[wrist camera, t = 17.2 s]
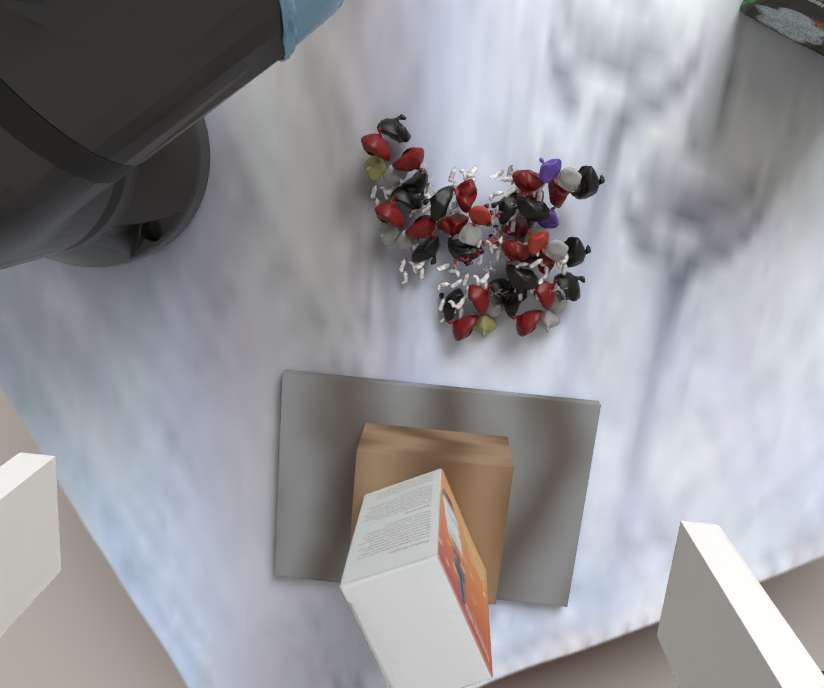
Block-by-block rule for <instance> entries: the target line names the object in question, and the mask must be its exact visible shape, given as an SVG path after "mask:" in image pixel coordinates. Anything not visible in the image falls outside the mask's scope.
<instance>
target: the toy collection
mask: <svg viewBox="0 0 824 688" xmlns="http://www.w3.org/2000/svg"><path fill="white" fill-rule="evenodd" d="M399 119H400V120H406V117H405V116H404V115H402V114H401V115H400V116H398V117H397V118H394V119H389V118H387V119H384V120H382V121H381V122H380V123H379V124H378V126H377V130H378V132H379V134H369V135H366V136H363V137H362V138H361V142H362V145H363V149H364V150H365V151H366V152H367V153H368V154H369V155H372V156H371V157H370V158H369V159H368V160H367V161H366V163H365V164H364V168H365V169H366V171H367V173H368V176H369V178H370V179H371V180H373V181H376V180H378V179H379V178H380V177H381V176H382V175H383V178H384V181H385V182H386V183H389V184H392V187H391V188H389V189H388V190H387V189H386V188H385V187H384V186H382V187H380V189H381V190H383V191H384V197H385V198H386V200H388V197H389V195H390V197H391V203H383V204H380V205H379V200H378V198H375V195H376V191H377V185H376V184H375V186H374V187H373V190H372V193H371V196H370V197H371V198H372V199H374V198H375V199H376V200H375V203H376V207H375V211H376V214H377V217H378V219H379V220H380V221H382V222H383V224H382V225H381V226H380V227H379V229H378V230H377V233H378V235H379V236H380V238H381V241H382V243H383V244H384V245H385V246H390V245H391V244H392V243H394V241H395V240H396V244H397V246H398V247H399V248H402V249H405V250H411V249H412V248H413V250H412V251H414V253H413V255H412V260H413V261H409V262H408V263H410V264H411V265H412V267H413V272H414V273H415V274H417V270H419V269H420V271H419V272H420V274H419V277H420V280H424V277H423V276H424V267H423V265H424V264H425V262H426V261H425V260H427V259H429V258H431V257H433V259H432V261H431V265H433V264H435V263H436V253H437V251H438V249H439V245H440V240H439V237H438V236H437V235H435V233H434V232H435V231H436V229H437V228H438V229H439V230H441V231H443V232H446V233H449V234H450V235H451V237H449V238H448V242H447V244H448V250H449V252H450V254H451V255H452V257H453V258H454V259H455V260H453V261H454V262H455V263H454V269H450V270H449V271H448V272H449V273H456V275H457V277H459V276H460V273H459V271H458V270H457V269H458V268H459V262H460V261H461V262H463V263H464V264H465V266H468V265H470V264H471V265H472V264H473V262H472V261H471V260H473V259H475V258H477V257H478V256H479V260H478V261H477V263H476V264H477V265H479V264H481V263H482V260H483V253H484V250H482V247H481V243H482V244H483V246H486V244H485V242H486V243H487V244H488V245H489V250H490V252H491V254H493V251H494V249H497V248H498V249H497V250H496V255H495V257H496V261H497V260H500V254H501V250H503V252H504V254H505V255H506V256H507V257H508V258H509V259H510V261H507V262H506V274H507V278H508V280H509V281H508V280H507V279H506V278H497V279H494V280H492V281H490V282H489V285H488V284H487V280H488V278H489V277H490V275H489V274H490V273H489V272H487V273H486V274H485V276H484V277H482V278H481V279H479V277H478V276H477V275H473V276H472V277H473V278H474V279H475V280H476V285H470V286H469V285H467V287H466V292H467V293H466V295H465V296H464V295H463V292H462V290H461V289H456V290H454V291H453V292H451V293H450V294H449V295H448V296H447V297H446V298H443V297H444V293H443V292H442V293H440V294H439V297H440V298H441V302H440V305H439V308H438V310H439V311H442V315H443V318H442V319H441V321H440V322H441V323H443V322H445V320H446V321H447V322H448V323H449V324H451V323H453V335H454V338H455V340H457V341H460V340H462V339H464V338H466V337H468V336H469V335H470V334H471V332H472V330H473V327H475V328H476V329H477V330H478V331H479V332H480V333H482V335H483V337H485V332H490V331H492V330H494V329H495V328H496V326H497V325H496V323H495V321H494V320H493V319H492V318H495V317H498V316H499V315H500V313H501V311H502V308H503V305H504V307H505V311H506V313H507V314H508V316H509V317H511V318H512V319H515V318H517V323H516V328H517V332H518V335H519V336H521V337H523V336H525V335H527V334H529V333H531V332H532V331H533V330H534V329H535V327H536V325H537V323H538V324H539V325H540V326H541V327H542V328H544V329H546V328H547V329H546V331H547V333H548V332H549V330H550V329H549V328H551V327H555V326H556V325H558V324H559V323H560V319H559V317H558V316H557V315H556V314H555V313H560V312H562V311H563V310H564V308H565V306H566V303H567V300H571V301H577V300H578V299H579V298H580V287H579V283H578V280H580V281H582V282H583V283H584V282H585V278H584V277H583V276H579V277H577V276H574V275H572V274H571V273H569V272H566V271H567V267H574V266H577V265H579V264H581V263H582V262H583V261H584V258H585V255H586V254H588V253H590V252H591V249H590V247H589V245H587V247H586V249H584V246H583V244H582V242H581V241H580V239H579V238H577V237H569V238H568V239H567V240H566V241H565V242H562V241H561V240H559V239H553V240H551V241H549V242H548V239H549V232H548V230H547V229H545V228H556V227H557V226H558V225H559V221H558V218H557V216H556V213H555V211H554V209H555V207H556V208H560V207H561V206H562V204H563V203H564V201H565V199H566V197H567V195H568V194H569V193H571V194H572V196H574V197H575V198H577V199H586V198H588V197H590V196H593V195H594V194H595V193H597V190H598V188H599V185H600V184H602V183H604V181H605V180H604V177H603V176H602V175H601V176H600V179H599V180H598V176H597V174H596V172H595V170H594V169H593V167H592V166H582V167H581V168H580V170H579V171H576V170H575V169H573V168H571V167H568V168H564V169H563V170H561V172H560V169H561V160H560V159H551V160H549V161H547V162H544V160H543V159H542V158H540V162H541V163H542V166H541V168H540V173H539V174H538V173H535V172H532V171H531V170H517V171H515V172H513V169H514V167H513V165H510V166H509V167H508V171H507V177H504V178H503V179H501V181H504V182H506V181H509V182H510V183H511V185H512V184H513V183H515V185H516V186H517V187H518V188H517V187H513V188H511V189H510V190H509V191H507V192H506V193H504V197H503V198H502V199H501V200H500V201H498V202H494V203H492V204H491V207H492V208H495V207H496V206H497V205H498V204H499V211H498V214H499V215H498V214H497V213H496V211H497V210H496V209H495V210H494V211H492V210H490V213H489V211H488V209H487V208H489V204H485V205H484V206H475V207H473V208H471V206H472V204H473V202H474V201H475V199H476V196H477V188H476V186H475V176H474V174H475V173H476V171H477V166H476V165H475V166H474V167H473V168H472V170H471V171H469V172H468V173H466V171H465V170H463V169H460V170H459V172H461V173H462V174H463V178H464V182H462V183H461V184H460V185H458V186H457V183H456V181H453V179H454V175H455V172H456V170H455V169H456V167H454V168H453V169H452V170H451V174H450V176H449V179H448V181H450V182H454V183H453V186H447V187H444V188H442V189H440V190H439V191H438V192H437V193H436V194H435V193H434V192H433V191H432V190H431V185H432V184H431V183H427V182H428V181H429V180H428V176H429V175H428V174H427V171H426V170H425V169H424V168H420V167H421V164H422V163H423V158H424V150H423V148H415V147H412V148H409V149H407V150H405V151H404V152H403V154H402V156H401V157H400V158H399V159H398V160H396V161H395V162H394V163H393V164H392V165H390V166H389V167H388V169H387V170H386V165H385V163H384V161H383V160H385V161H390V158H391V153H390V148H389V145H388V143H387V141H386V140H385V139H383V138H382V135H381V133H382V134H384V135H387V136H389V137H391V138H392V139H394V140H396V141H398V142H399V143H402V142H408V141H409V140H410V138H411V135H410V134H409V132H408V131H407V129H406V128H405V127H404V126H403V125H402V124H401V123H400V122H399ZM425 164H426V163H425ZM429 164H430V163H429ZM427 165H428V164H427ZM425 166H426V165H425ZM425 166H424V167H425ZM414 169H416V170H418V171H417V172H416V173H415V174H414V175H413V177H412V178H410V179H409V180H407V181H406V182H405V183H403V179H404V178H405V177H406V176H407V173H408V172H410V171H412V170H414ZM428 169H429V168H428ZM385 170H386V171H385ZM503 172H504V171H503V170H501V171H498V172H497V173H495V174H493V175H489V177H490V178H491V179H495V178H497V177H500V176H501V175H502V173H503ZM383 173H384V174H383ZM559 173H560V174H559ZM512 174H513V175H512ZM558 175H559V177H558ZM472 176H473V177H472ZM511 176H512V178H513V179H512V178H511ZM471 177H472V178H471ZM433 178H434V177H433ZM468 178H471V179H469V180H468ZM430 180H431V179H430ZM431 182H432V181H431ZM400 183H402V185H401V186H400V187H397V186H398V185H399V184H400ZM545 183H548V189H549V197H550V202H551V204H552V205H553V206H554V207H552V208H551V210H550V209H549V208H548V207H547V205H546V204H545V203H544V202H542V201H543V198H544V192H543V190H542V188H543V187H544V185H545ZM425 186H426V189H425ZM432 186H433V185H432ZM433 187H434V186H433ZM424 189H425V190H426V192H425V194H424ZM516 189H517V190H516ZM431 191H432V192H433V193H434V194H435V195H434V196H432V194H431V196H432V197H430V195H429V194H430V192H431ZM572 191H574V192H572ZM419 193H422V194H421V195H420V197H419V196H418V195H417V194H419ZM455 194H456V201H455V202H454V203H452V205H451V203H450V201H451V199H452V196H454V195H455ZM501 194H503V191H502V192H501V191H496V192H493V193H492V194H491V195H490V196H489V199H490V201H492V199H493V197H494V196H500V195H501ZM425 198H427V199H425ZM423 199H425V200H423ZM422 200H423V202H422ZM395 201H397V202H401V203H402V204H404V205H405V206H407V207H409V208H410V209H411V210H410V212H409V216H410V217H412V214H413V213H414V212H419V211H420V210H422V209H421V207H422V205H423V204H424V205H427V204H428V202H430V203H431V204H430V205H429V206H427V207H426V208H425V209H423V210H422V213H423V214H426V213H427V212H428V211H429V210H430V212H431V216H428V215H423V216H421V217H419V218H417V219H416V220H415V222H414V223H413V224H412V225H411V226H410V227H409V228H407V230H404V231H403V232H402V233H401V234H400V235H399V231H398V229H397V228H400V229H403V225H404V221H403V216H402V213H401V211H400V210H399V209H398V208H397V207H396V206H395ZM458 205H459V207H460V209H461V210H462V211H463V212H465V213H468V212H469V216H470V218H471V221H472V223H468V224H467V222H468V220H469V217H467V216H465V215H464V214H459V213H460V210H459V207H458ZM455 208H457V209H456V210H455V214H454V215H450V216H445V215H446V213H447V209H448V211H449V212H450V214H451V213H452V211H453V209H455ZM518 210H519V211H520V213H521V215H522V216H523V217H519V218H515V217H516V215H517V214H518ZM490 214H491V215H490ZM444 216H445V217H444ZM495 217H498V218H499V223H500V224H501V225H502V226H501V230H499V232H500V235H503V233H502V231H503V232H504V233H506V234H505V235H504V236H506V237H507V238H509V237H510V236H513V237H515V240H505V241H504V242H503V237H500V238H499V239H498V237H497V236H496V234H497V231H498V225H496V223H494V220H495ZM436 221H438V222H437V223H436ZM534 222H538V224H539V225H540V226H541V227H538V226H534V227H532V226H533V224H534ZM493 223H494V225H493V229H494V232H493V233H492V234H490V235H489V238H488V240H486V241H485V242H484V241H482V240H481V239H482V238H481V237H482V234H483V230H482V228H481V227H480V226H479V225H486V227H489V226H490V227H491V226H492V224H493ZM476 224H478V225H476ZM396 227H397V228H396ZM542 227H544V228H542ZM432 234H433V235H432ZM456 234H459V236H458V238H459V239H453V240H452V238H453V236H454V235H456ZM526 234H527V235H526ZM398 235H399V236H398ZM525 235H526V237H525V240H524V241H517V239H519V238H520V237H524V236H525ZM429 236H430V237H429ZM490 237H494V238H495V239H497V240H494V241H493V240H492V239H491V238H490ZM423 238H425V239H426V240H425V241H424V242H423V243H422V244H420V245H419V239H423ZM492 241H493V243H494V244H492ZM502 242H503V243H502ZM547 242H548V244H547ZM501 244H502V249H500V248H501ZM546 245H547V247H546ZM505 255H504V256H505ZM418 261H420V263H418V264H417V265H416V264H415V262H418ZM513 261H519V262H521V263H519V264H517V265H516V266H514V265H511V263H512V262H513ZM494 262H495V261H494ZM555 262H556V265H557V267H558V268H560V266H561V264H563V266H562V270H561V272H562V273H560V274H558V275H556V276H555V278H554V282H553V284H550V283H549V282H547V281H544V280H543V279H546V278H547V276H548V274H549V273H550V271H551V269H552V268H553V267H554V264H555ZM492 263H493V262H492ZM405 264H406V261H405V259H403V260H402V262H401V266H400V268H399V271H400V272H403V270H404V266H405ZM490 264H491V260H490ZM527 265H528V266H529V267H530V268H531V269H533V268H534V267H535V266H537V265H538V269H539V271H540V272H541V273H543V274H544V275H543V276H542V277H541V278H540V279H538V278H537V276H536V275H535V274H534V272H533V271H532V270H529V269H523V268H520V267H525V266H527ZM449 266H450V263H446V264H444V265H443V266H440V267H437V270H438V271H442V270H444V269H447V268H449ZM495 267H496V266H495ZM495 267H494V268H495ZM490 268H491V267H490ZM485 270H487V268H486V269H485ZM493 270H494V269H493ZM487 271H489V270H487ZM491 271H492V270H491ZM494 271H495V270H494ZM485 272H486V271H485ZM403 276H404V280H403V281H402V282H401V284H406V282H407V281H408V274H407V273H406V271H404V274H403ZM468 278H469V273H467V274H466V275H465V277H464V280H462V279H461V280H457V281H456V282H455V283H453V284H452V285H450V283H447V282H445V283H441V284H439V285H438V287H437V290H438V291H440V289H441V287H447V286H448V285H450V287H451V288H452V289H454V288H455V287H456V286H458V285H459V284H461V282H462V281H463V282H462V286H466V284H467V281H468ZM556 283H557V284H558V285H559V286H558V288H557V287H556V288H557V289H558V290H557V289H555V290H554V285H555V284H556ZM481 284H483V287H480V286H481ZM513 286H514V288H513ZM487 287H488V290H487ZM559 287H560V288H561V289H562V290H563V291H564V292H565V296H564V295H563V294H562V293H561V292H560V291H561V290H560V289H559ZM490 288H491V289H492V291H493V292H494V293H495V294H496V295H497V296H498V297H499V298H500V300H499V299H498V298H497V297H496V296H495V295H488V292H489V290H490ZM527 290H529V291H530V293H531V295H533V293H534V295H535V299H536V301H540V302H541V304H542V306H543V307H544V308H546V309H547V311H544V312H543V311H542V310H531V311H528V312H525V313H524V314H522V315H520V316H515V314H516V312H517V310H518V307H519V305H520V303H521V302H522V301H524V300H525V299H526V298H527ZM559 290H560V291H559ZM493 292H492V293H493ZM564 292H563V293H564ZM468 297H469V300H470V301H472V303H473V305H474V307H475V308H476V310H477V311H478V312H479V313H481V314H482V315H483V316H477V315H467V316H463V317H462V315H463V304H464V303H465V300H464V299H465V298H468ZM457 309H459V313H458V317H459V319H458V320H455V321H453V320H452V319H453V317H454V315H455V313H456V310H457ZM549 309H551V310H552V311H553V312H552V311H550V310H549ZM554 312H555V313H554ZM485 313H486V314H487V315H488V316H487V315H484V314H485ZM489 316H490V317H492V318H490V317H489Z"/></svg>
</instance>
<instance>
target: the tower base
mask: <svg viewBox="0 0 824 688" xmlns="http://www.w3.org/2000/svg"><path fill="white" fill-rule="evenodd" d="M600 407H601V405H600V403H599V401H592V400H582V399H572V398H562V397H551V396H541V395H531V394H521V393H511V392H501V391H491V390H481V389H471V388H461V387H451V386H441V385H431V384H421V383H411V382H401V381H390V380H380V379H370V378H360V377H350V376H340V375H330V374H320V373H310V372H300V371H290V370H285V371H284V372H283V373H282V397H281V422H280V446H279V471H278V495H277V520H276V544H275V569H274V575H275V576H284V577H294V578H303V579H312V580H322V581H331V582H340V583H341V579H342V575H343V571H344V568H345V564H346V560H347V557H348V553H349V549H350V546H351V542H352V538H353V535H354V531H355V527H356V524H357V520H358V516H359V513H360V509H361V506H362V502H363V498H364V495H366V494H368V493H371V492H374V491H377V490H380V489H383V488H385V487H388V486H391V485H394V484H397V483H400V482H403V481H406V480H408V479H411V478H414V477H417V476H420V475H423V474H426V473H429V472H432V471H435V470H437V469H442V470H443V472H444V474H445V476H446V479H447V481H448V484H449V486H450V488H451V491H452V493H453V495H454V498H455V500H456V502H457V505H458V507H459V509H460V512H461V514H462V517H463V519H464V522H465V524H466V526H467V529H468V531H469V534H470V536H471V538H472V540H473V543H474V545H475V547H476V549H477V551H478V554H479V556H480V558H481V560H482V562H483V564H484V566H485V569H486V579H487V594H488V604H495V603H496V599H499V600H508V601H518V602H527V603H536V604H546V605H555V606H564V607H567V605H568V599H569V593H570V587H571V581H572V575H573V569H574V563H575V557H576V551H577V545H578V539H579V533H580V527H581V521H582V515H583V509H584V503H585V497H586V491H587V485H588V479H589V473H590V467H591V461H592V455H593V449H594V443H595V437H596V431H597V425H598V419H599V413H600Z"/></svg>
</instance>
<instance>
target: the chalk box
mask: <svg viewBox="0 0 824 688" xmlns="http://www.w3.org/2000/svg"><path fill="white" fill-rule="evenodd" d="M741 11H742V12H744V13H745V14H746V15H748V16H750V17H751V18H754V19H755V20H757V21H759V22H761V23H762V24H765V25H766V26H768V27H770V28H771V29H773V30H775V31H777V32H779V33H781V34H783V35H785V36H786V37H788V38H790V39H792V40H794V41H796V42H798V43H799V44H801V45H804V46H806V47H808V48H810V49H812V50H814V51H816V52H817V53H819V54H821V55H823V56H824V0H744V1H743V3H742V5H741Z"/></svg>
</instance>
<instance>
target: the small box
mask: <svg viewBox="0 0 824 688" xmlns="http://www.w3.org/2000/svg"><path fill="white" fill-rule="evenodd" d="M339 588H340V590H341V592H342V594H343V596H344V598H345V599H346V601H347V603H348V605H349V607H350V608H351V610H352V612H353V614H354V616H355V618H356V620H357V622H358V624H359V626H360V628H361V630H362V632H363V634H364V637H365V639H366V641H367V643H368V645H369V647H370V649H371V651H372V653H373V655H374V657H375V659H376V661H377V663H378V665H379V667H380V670H381V672H382V674H383V676H384V678H385V681H386V683H387V685H388V687H389V688H463V687H467V686H470V685H473V684H477V683H480V682H483V681H486V680H490V679H491V678H492V677H493V673H492V658H491V642H490V626H489V610H488V594H487V579H486V569H485V566H484V564H483V562H482V560H481V558H480V556H479V554H478V551H477V549H476V547H475V545H474V543H473V540H472V538H471V536H470V534H469V531H468V529H467V526H466V524H465V522H464V519H463V517H462V514H461V512H460V509H459V507H458V505H457V502H456V500H455V498H454V495H453V493H452V491H451V488H450V486H449V484H448V481H447V479H446V476H445V474H444V472H443V470H442V469H437V470H435V471H432V472H429V473H426V474H423V475H420V476H417V477H414V478H411V479H408V480H406V481H403V482H400V483H397V484H394V485H391V486H388V487H385V488H383V489H380V490H377V491H374V492H371V493H368V494H366V495H364V498H363V502H362V506H361V509H360V513H359V516H358V520H357V524H356V527H355V531H354V535H353V538H352V542H351V546H350V549H349V553H348V557H347V560H346V564H345V568H344V571H343V575H342V579H341V583H340V587H339Z"/></svg>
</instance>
